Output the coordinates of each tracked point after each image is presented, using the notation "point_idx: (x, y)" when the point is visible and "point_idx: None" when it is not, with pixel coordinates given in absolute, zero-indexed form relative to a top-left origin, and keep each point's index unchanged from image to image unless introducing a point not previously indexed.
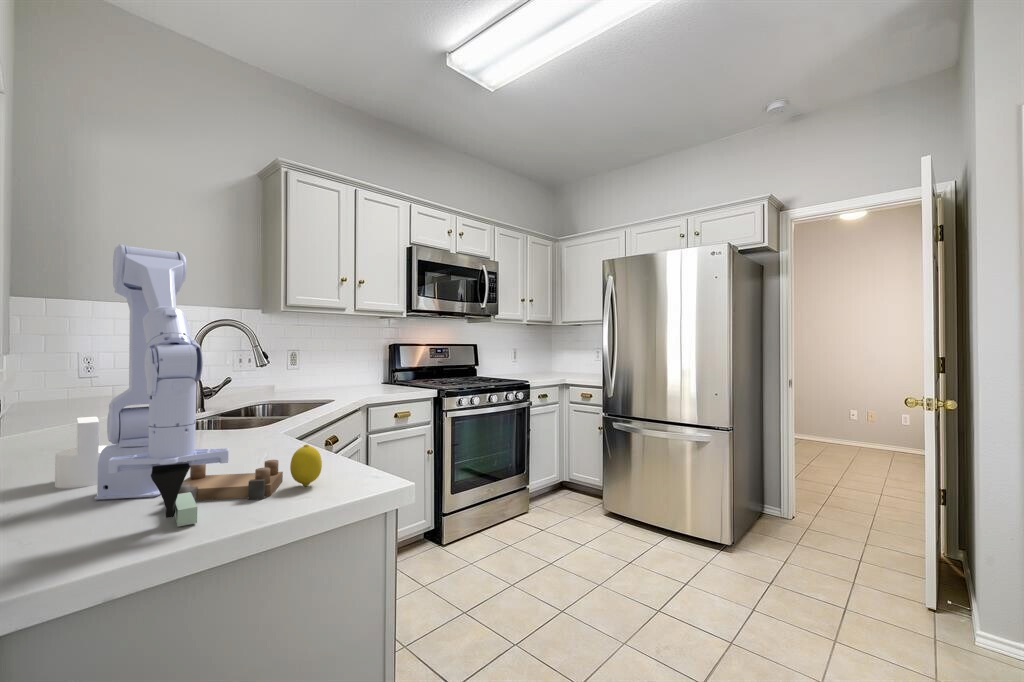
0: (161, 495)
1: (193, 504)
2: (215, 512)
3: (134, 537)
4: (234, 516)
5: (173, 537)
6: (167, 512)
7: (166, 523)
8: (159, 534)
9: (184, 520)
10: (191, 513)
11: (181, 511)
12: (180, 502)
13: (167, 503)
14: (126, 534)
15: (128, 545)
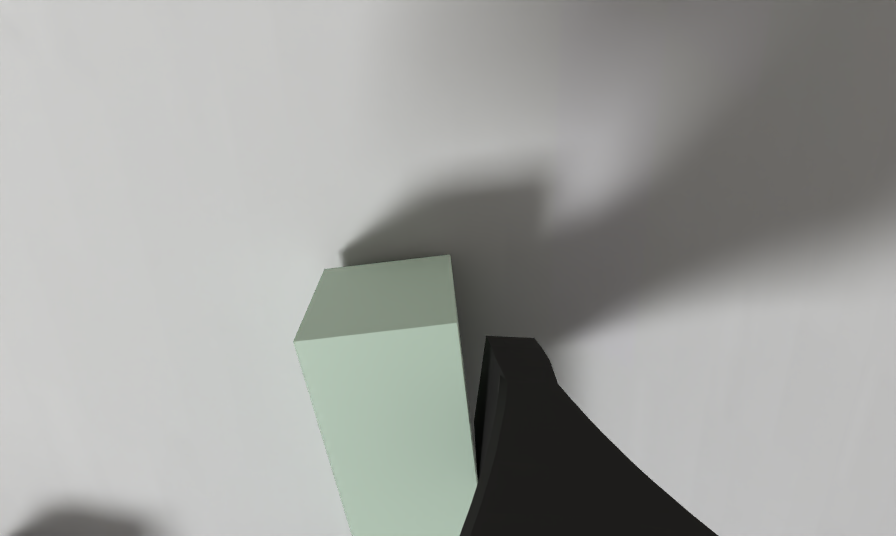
0: (651, 483)
1: (338, 418)
2: (247, 447)
3: (703, 215)
4: (92, 321)
5: (470, 59)
6: (534, 357)
7: None
8: (559, 191)
9: (405, 275)
10: (351, 308)
11: (427, 316)
12: (445, 507)
13: (557, 405)
14: (732, 299)
15: (763, 52)
